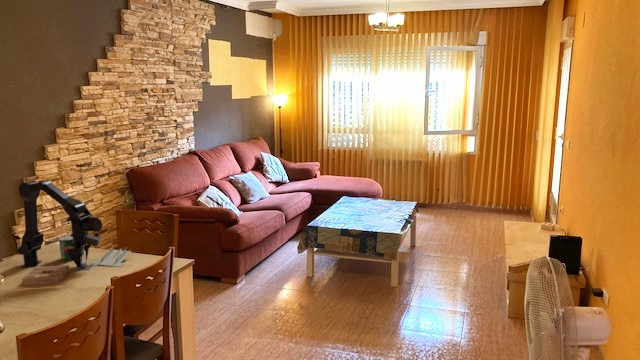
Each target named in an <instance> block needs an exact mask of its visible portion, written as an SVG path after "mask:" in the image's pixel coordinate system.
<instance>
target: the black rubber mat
mask: <svg viewBox="0 0 640 360" xmlns="http://www.w3.org/2000/svg"><path fill="white" fill-rule="evenodd" d="M92 267H93V265H92V264H87V268H85V269H79V267H77V266H76V267H75V268H74V269H73V270H72V272H81V271H84V272H85V271H90V270H91V269H92Z"/></svg>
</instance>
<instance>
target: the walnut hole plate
mask: <svg viewBox="0 0 640 360" xmlns="http://www.w3.org/2000/svg"><path fill="white" fill-rule="evenodd" d="M70 270H71V269H70V265H69V264H66V265H51V266H34V268H33V269H31V270H30V272H28V273H27V274H26V275H25V276H24V277H23V278H21V281H22V286H27V285H28V286H29V285H30V286H31V285H45V284H59V283H60V282H61V281H62V280H63V279H64V277H65V276H66V275H67V274H69V272H70Z"/></svg>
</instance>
